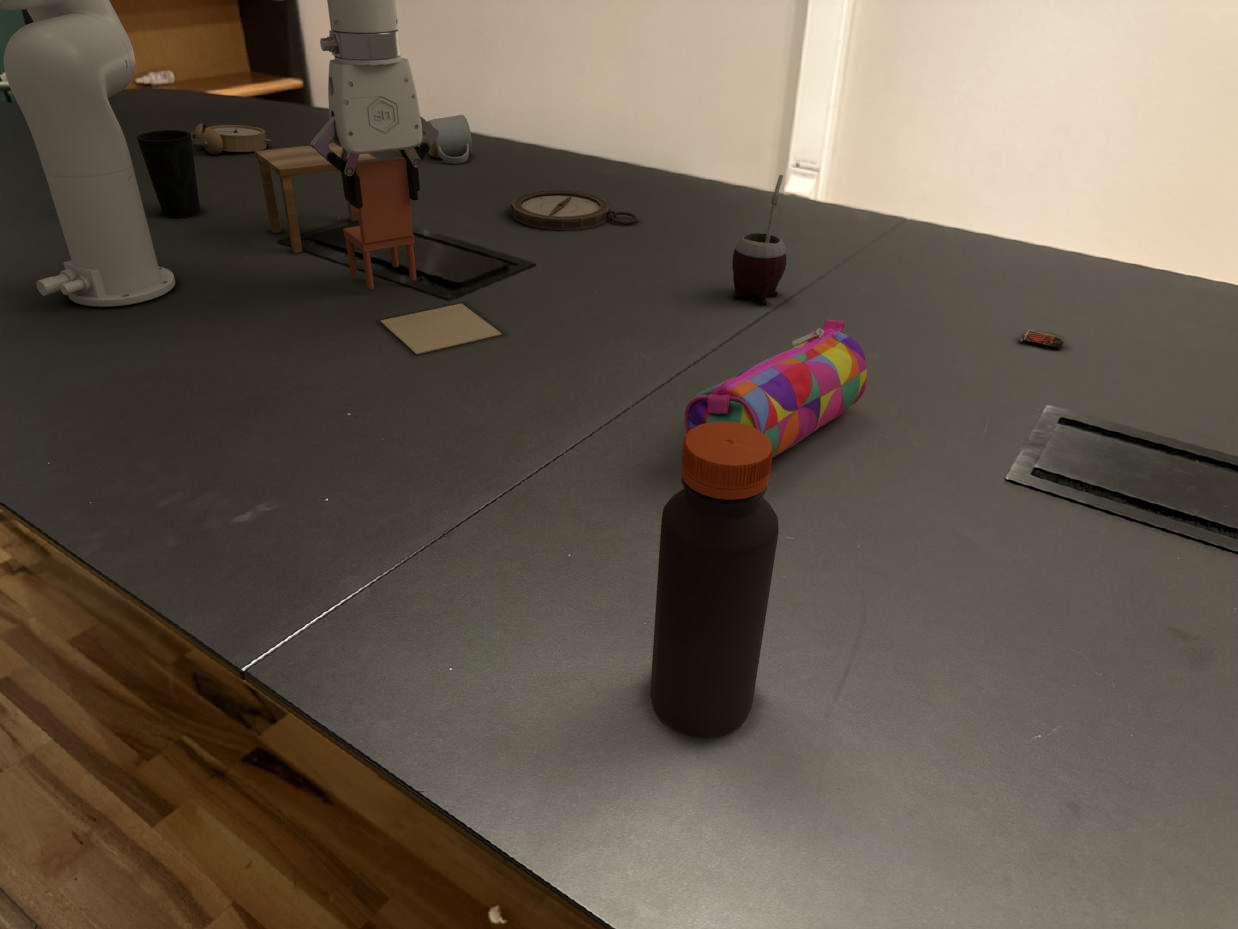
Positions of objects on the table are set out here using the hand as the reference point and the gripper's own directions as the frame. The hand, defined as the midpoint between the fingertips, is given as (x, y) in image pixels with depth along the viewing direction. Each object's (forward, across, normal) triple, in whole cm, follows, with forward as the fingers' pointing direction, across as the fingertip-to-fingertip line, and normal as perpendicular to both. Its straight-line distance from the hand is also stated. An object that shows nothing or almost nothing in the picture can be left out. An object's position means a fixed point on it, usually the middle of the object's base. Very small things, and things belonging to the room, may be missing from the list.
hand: (383, 200), depth 113 cm
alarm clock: (+12, +2, +88) cm, 89 cm away
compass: (+12, +37, +16) cm, 42 cm away
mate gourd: (+12, +41, -26) cm, 50 cm away
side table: (+12, 0, +26) cm, 29 cm away
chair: (+11, 0, +3) cm, 12 cm away
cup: (+12, -16, +48) cm, 52 cm away
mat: (+12, 0, -15) cm, 19 cm away
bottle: (+12, -11, -79) cm, 81 cm away
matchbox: (+12, +62, -56) cm, 84 cm away
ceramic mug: (+12, +38, +61) cm, 73 cm away
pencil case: (+12, +17, -56) cm, 60 cm away
